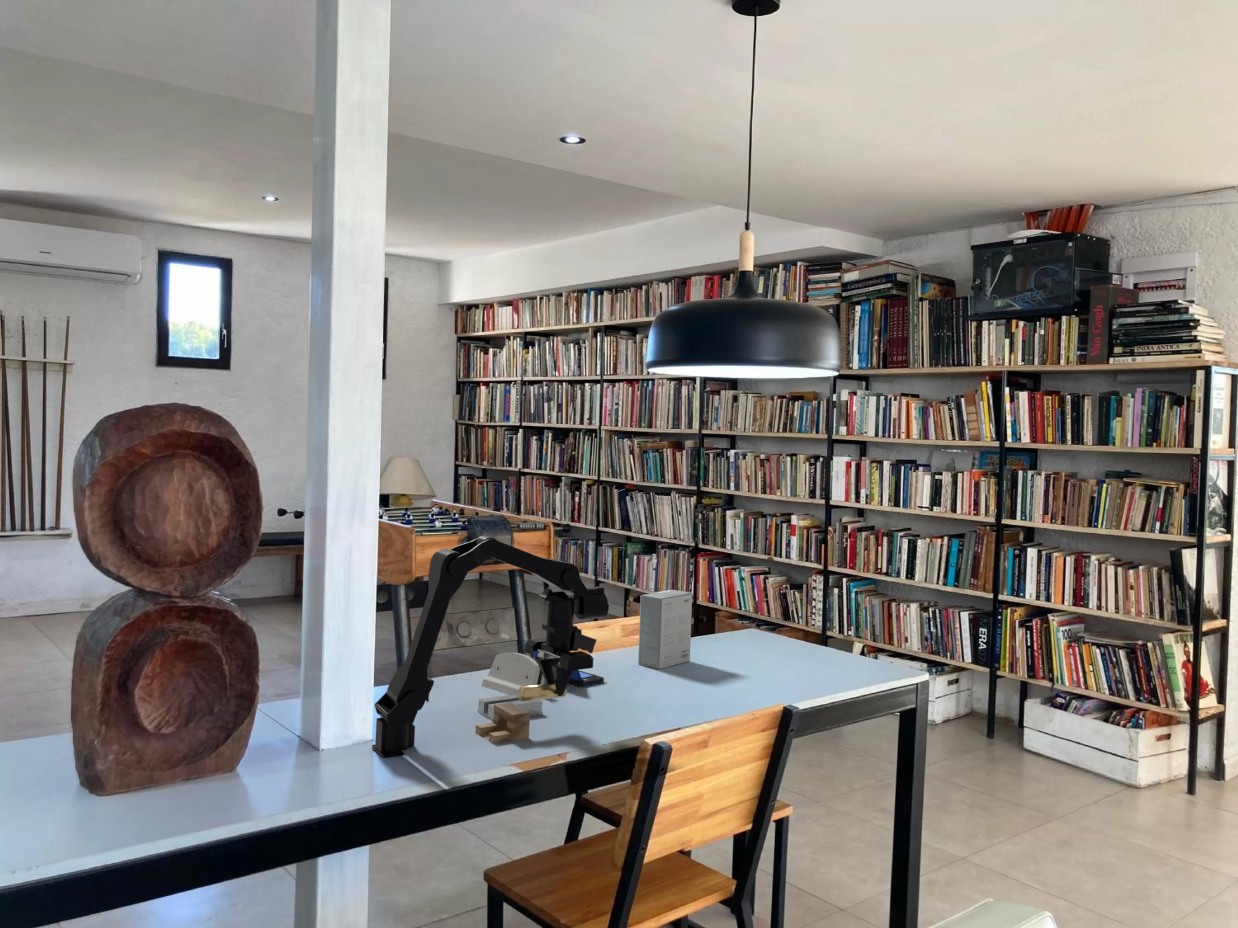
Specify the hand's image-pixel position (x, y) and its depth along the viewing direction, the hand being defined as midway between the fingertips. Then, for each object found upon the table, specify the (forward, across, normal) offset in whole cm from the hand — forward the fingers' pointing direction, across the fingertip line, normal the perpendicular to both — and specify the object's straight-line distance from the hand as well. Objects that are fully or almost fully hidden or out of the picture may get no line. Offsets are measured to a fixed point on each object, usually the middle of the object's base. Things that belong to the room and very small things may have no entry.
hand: (556, 693), depth 196 cm
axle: (+1, 0, +3) cm, 3 cm away
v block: (+8, +13, +4) cm, 16 cm away
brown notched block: (+8, 0, +13) cm, 15 cm away
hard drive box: (+8, +39, -60) cm, 72 cm away
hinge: (+8, +32, -8) cm, 34 cm away
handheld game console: (+8, +34, -25) cm, 43 cm away
